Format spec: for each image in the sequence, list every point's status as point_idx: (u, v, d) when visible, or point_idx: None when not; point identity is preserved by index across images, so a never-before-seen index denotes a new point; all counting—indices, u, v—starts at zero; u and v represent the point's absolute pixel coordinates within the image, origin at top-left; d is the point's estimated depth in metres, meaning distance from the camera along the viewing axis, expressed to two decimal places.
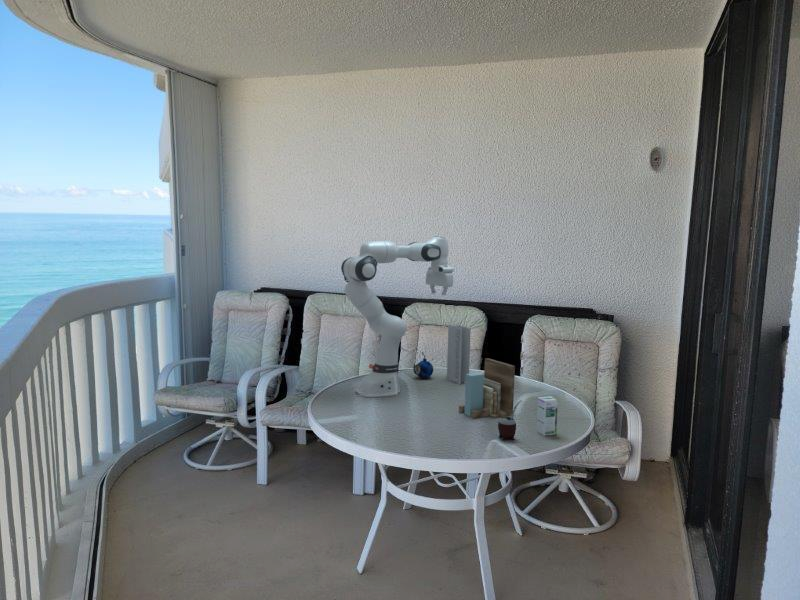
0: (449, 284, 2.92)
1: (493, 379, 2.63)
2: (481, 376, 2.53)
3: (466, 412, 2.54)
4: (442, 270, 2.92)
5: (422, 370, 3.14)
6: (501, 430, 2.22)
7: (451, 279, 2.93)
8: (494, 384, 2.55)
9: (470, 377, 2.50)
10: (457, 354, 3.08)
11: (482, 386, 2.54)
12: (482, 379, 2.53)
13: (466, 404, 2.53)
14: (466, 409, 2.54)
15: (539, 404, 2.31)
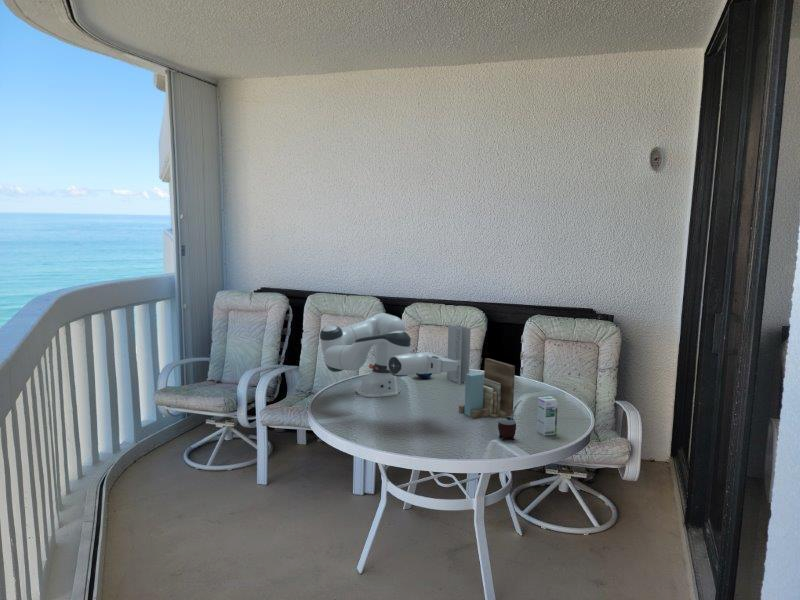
0: (455, 367, 2.34)
1: (493, 379, 2.63)
2: (481, 376, 2.53)
3: (466, 412, 2.54)
4: None
5: None
6: (501, 430, 2.22)
7: (450, 364, 2.33)
8: (494, 384, 2.55)
9: (470, 377, 2.50)
10: (457, 354, 3.08)
11: (482, 386, 2.54)
12: (482, 379, 2.53)
13: (466, 404, 2.53)
14: (466, 409, 2.54)
15: (539, 404, 2.31)
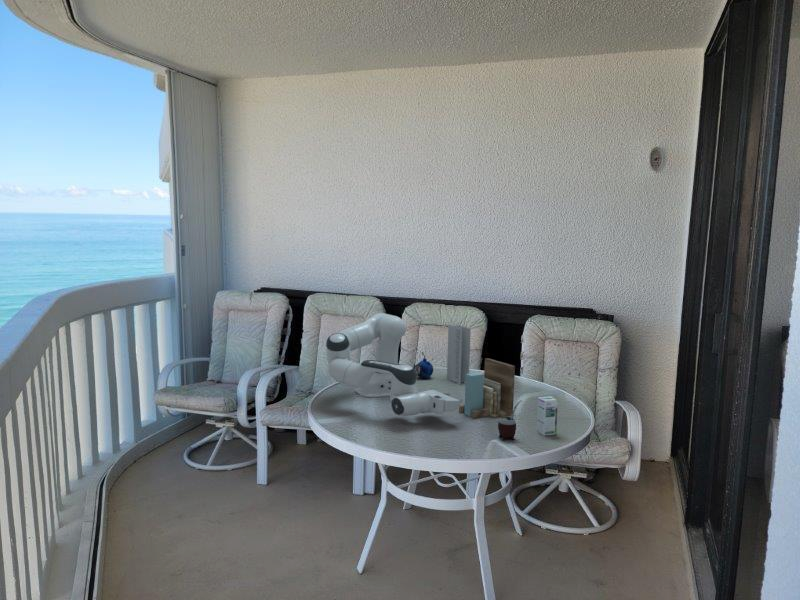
0: (458, 406, 2.37)
1: (493, 379, 2.63)
2: (481, 376, 2.53)
3: (466, 412, 2.54)
4: None
5: (422, 370, 3.14)
6: (501, 430, 2.22)
7: (452, 403, 2.36)
8: (494, 384, 2.55)
9: (470, 377, 2.50)
10: (457, 354, 3.08)
11: (482, 386, 2.54)
12: (482, 379, 2.53)
13: (466, 404, 2.53)
14: (466, 409, 2.54)
15: (539, 404, 2.31)
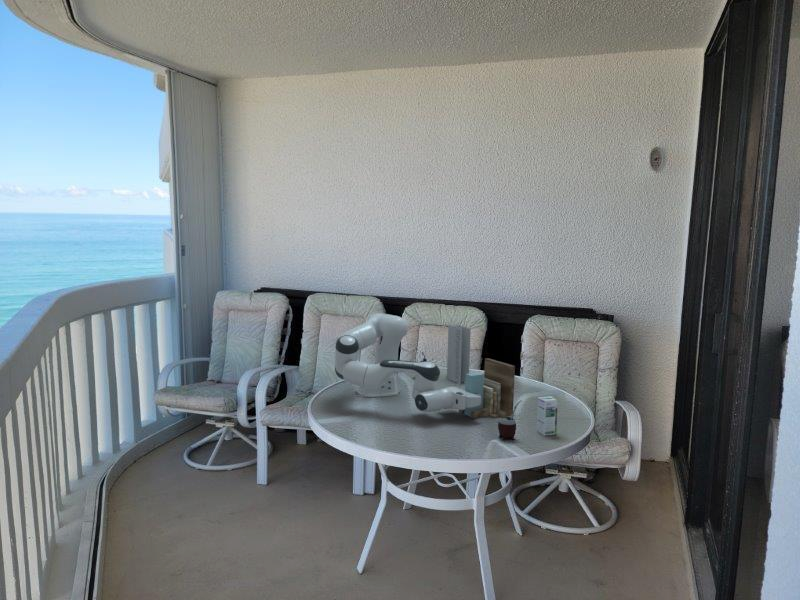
0: (479, 402, 2.43)
1: (493, 379, 2.63)
2: (481, 376, 2.53)
3: (466, 412, 2.54)
4: None
5: None
6: (501, 430, 2.22)
7: (474, 400, 2.42)
8: (494, 384, 2.55)
9: (470, 377, 2.50)
10: (457, 354, 3.08)
11: (482, 386, 2.54)
12: (482, 379, 2.53)
13: None
14: (466, 409, 2.54)
15: (539, 404, 2.31)
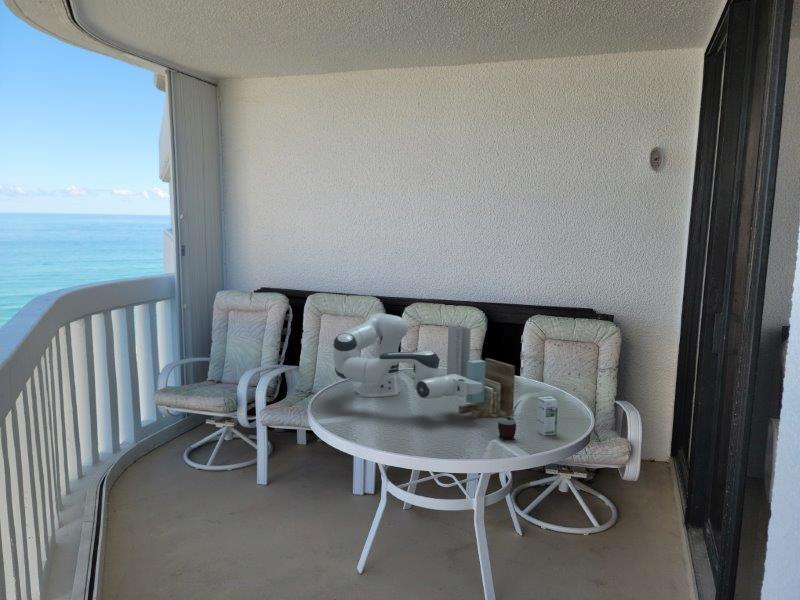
0: (481, 389, 2.42)
1: (493, 379, 2.63)
2: (483, 363, 2.52)
3: (468, 399, 2.53)
4: None
5: None
6: (501, 430, 2.22)
7: (476, 386, 2.41)
8: (494, 384, 2.55)
9: (472, 364, 2.49)
10: (457, 354, 3.08)
11: (484, 373, 2.53)
12: (484, 366, 2.52)
13: None
14: (468, 396, 2.53)
15: (539, 404, 2.31)
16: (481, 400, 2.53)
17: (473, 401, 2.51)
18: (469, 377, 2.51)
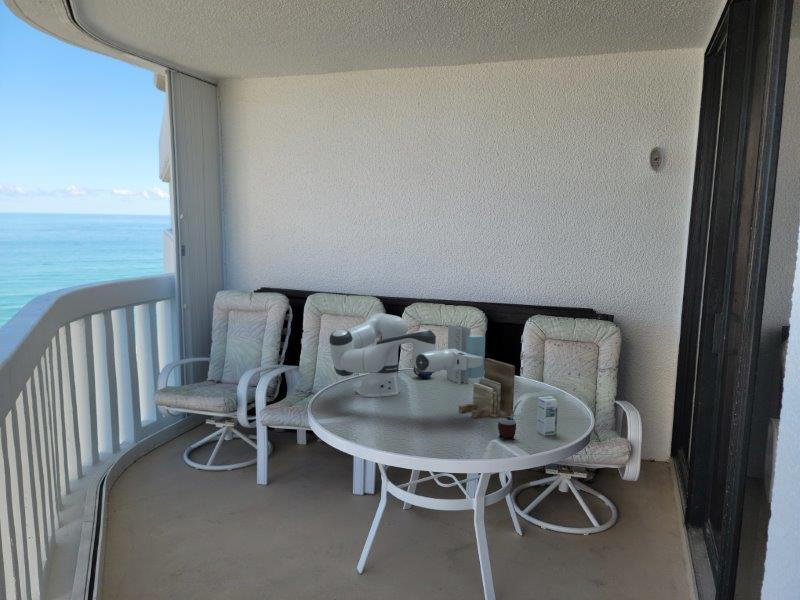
0: (481, 363, 2.41)
1: (493, 379, 2.63)
2: (482, 338, 2.51)
3: (467, 374, 2.52)
4: None
5: None
6: (501, 430, 2.22)
7: (476, 360, 2.40)
8: (494, 384, 2.55)
9: (471, 339, 2.49)
10: None
11: (483, 348, 2.52)
12: (484, 341, 2.52)
13: None
14: (467, 371, 2.52)
15: (539, 404, 2.31)
16: (481, 375, 2.53)
17: (473, 376, 2.50)
18: (469, 352, 2.50)
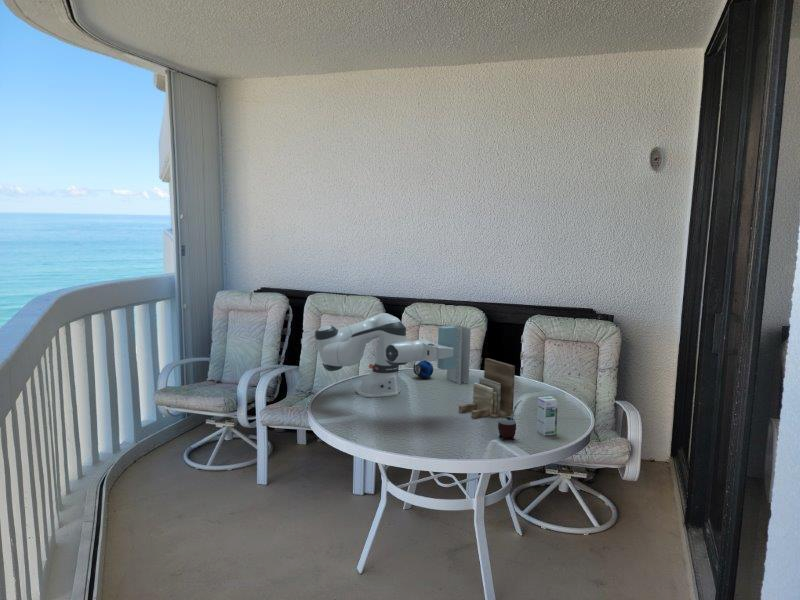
0: (451, 354, 2.39)
1: (493, 379, 2.63)
2: (454, 329, 2.49)
3: (439, 366, 2.50)
4: None
5: (422, 370, 3.14)
6: (501, 430, 2.22)
7: (446, 351, 2.38)
8: (494, 384, 2.55)
9: (443, 329, 2.46)
10: (457, 354, 3.08)
11: (455, 339, 2.49)
12: (455, 332, 2.49)
13: None
14: (439, 362, 2.49)
15: (539, 404, 2.31)
16: (452, 367, 2.50)
17: (444, 367, 2.48)
18: (440, 343, 2.48)
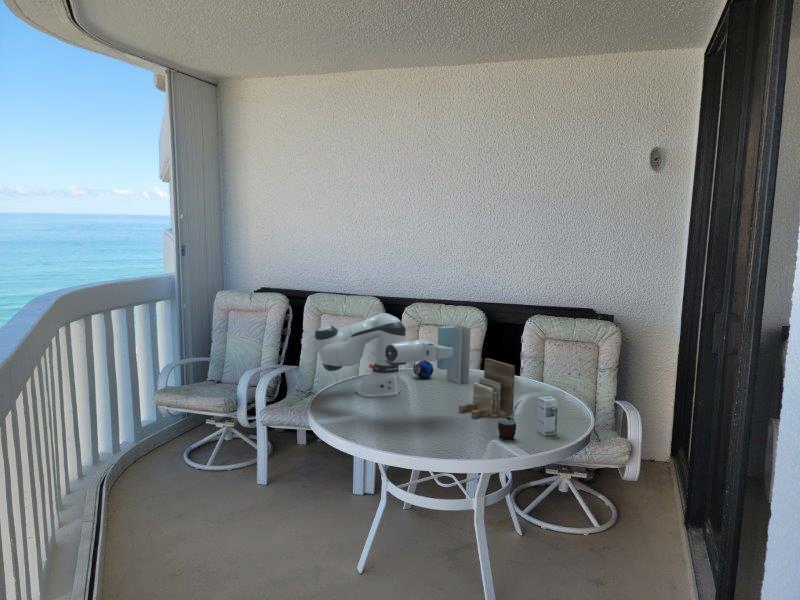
0: (451, 354, 2.39)
1: (493, 379, 2.63)
2: (454, 329, 2.49)
3: (438, 366, 2.49)
4: None
5: (422, 370, 3.14)
6: (501, 430, 2.22)
7: (446, 351, 2.38)
8: (494, 384, 2.55)
9: (442, 329, 2.46)
10: (457, 354, 3.08)
11: (455, 339, 2.49)
12: (455, 332, 2.49)
13: None
14: (438, 362, 2.49)
15: (539, 404, 2.31)
16: (452, 367, 2.50)
17: (444, 367, 2.48)
18: (440, 343, 2.48)
